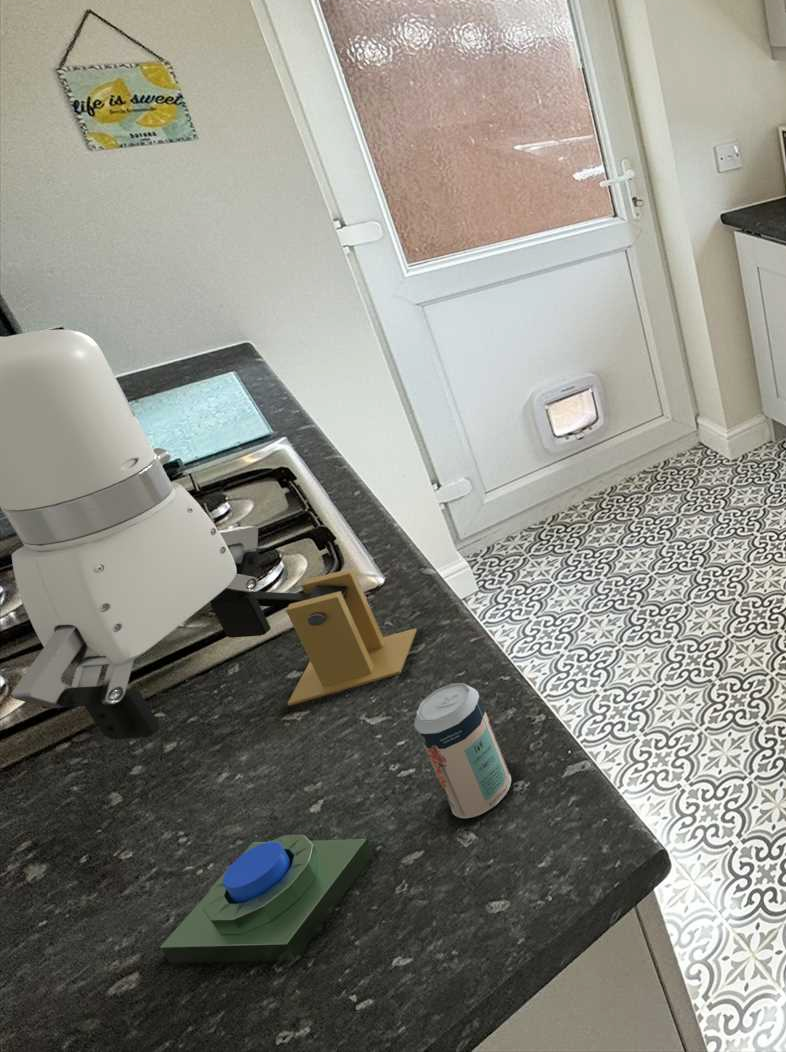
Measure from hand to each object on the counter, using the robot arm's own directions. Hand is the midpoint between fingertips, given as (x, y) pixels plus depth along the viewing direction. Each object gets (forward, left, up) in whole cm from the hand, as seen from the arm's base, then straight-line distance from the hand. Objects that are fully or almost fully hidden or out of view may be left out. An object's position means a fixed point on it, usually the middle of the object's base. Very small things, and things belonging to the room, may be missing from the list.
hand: (197, 680), depth 62 cm
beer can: (+15, -2, -20) cm, 25 cm away
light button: (+1, -6, -16) cm, 17 cm away
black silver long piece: (-6, +21, -9) cm, 24 cm away
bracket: (-1, +21, -19) cm, 29 cm away
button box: (+1, -6, -19) cm, 20 cm away
